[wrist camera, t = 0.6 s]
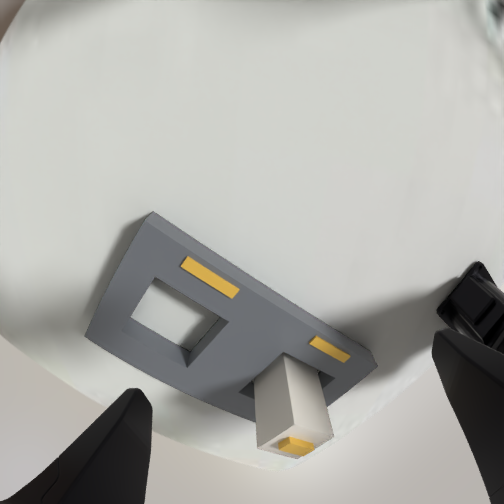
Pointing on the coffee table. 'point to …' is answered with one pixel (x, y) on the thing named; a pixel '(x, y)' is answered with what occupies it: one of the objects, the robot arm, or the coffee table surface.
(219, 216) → the coffee table surface
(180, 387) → the panel
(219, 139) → the coffee table surface
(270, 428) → the plug
